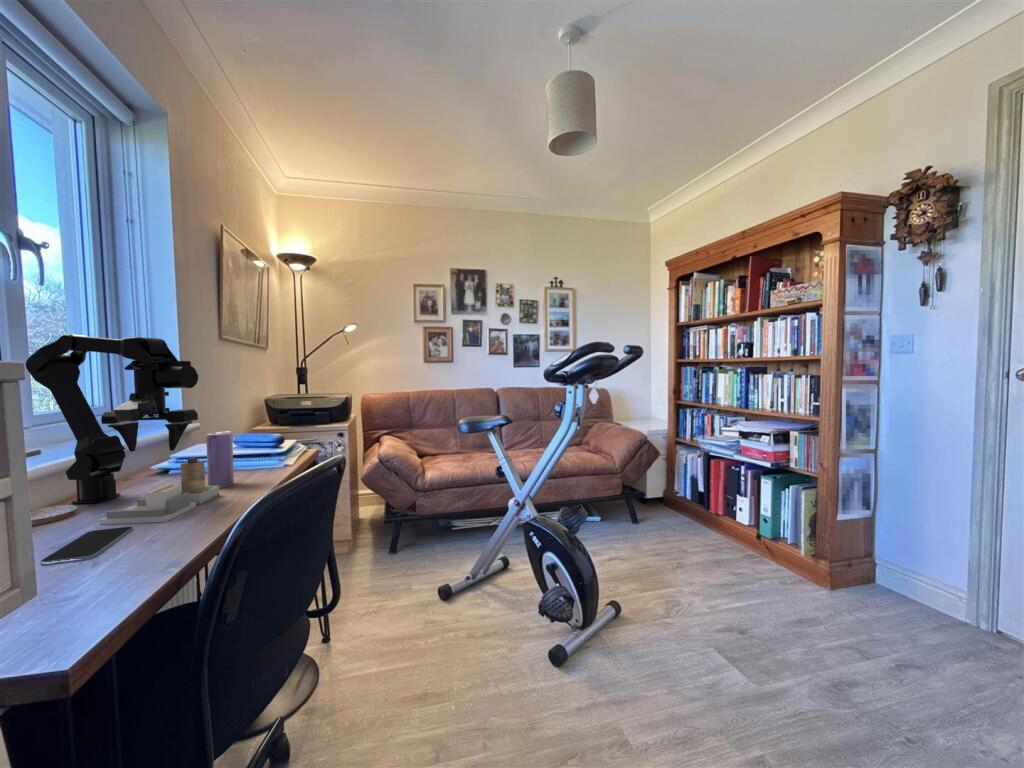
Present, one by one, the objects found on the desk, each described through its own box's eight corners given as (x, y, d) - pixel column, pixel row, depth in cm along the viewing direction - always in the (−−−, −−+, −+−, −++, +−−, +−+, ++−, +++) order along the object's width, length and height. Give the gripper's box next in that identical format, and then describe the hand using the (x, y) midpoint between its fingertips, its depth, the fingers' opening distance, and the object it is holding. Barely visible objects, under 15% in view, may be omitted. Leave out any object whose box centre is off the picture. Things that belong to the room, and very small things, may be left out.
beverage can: (224, 488, 114) (222, 434, 114) (202, 488, 115) (200, 434, 114) (238, 482, 120) (237, 431, 120) (218, 482, 120) (216, 431, 120)
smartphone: (135, 525, 87) (93, 555, 73) (135, 530, 87) (93, 560, 73) (89, 530, 84) (36, 562, 70) (89, 535, 84) (36, 568, 70)
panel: (99, 524, 89) (99, 505, 89) (137, 508, 99) (136, 491, 99) (165, 521, 90) (164, 503, 90) (196, 506, 100) (195, 489, 100)
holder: (167, 505, 100) (166, 495, 100) (188, 496, 108) (188, 486, 108) (200, 504, 101) (200, 494, 101) (219, 495, 109) (219, 485, 109)
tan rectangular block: (182, 500, 103) (180, 460, 102) (191, 496, 106) (189, 457, 106) (196, 499, 103) (195, 459, 103) (205, 495, 106) (204, 456, 106)
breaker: (146, 512, 92) (145, 491, 92) (163, 504, 97) (162, 485, 97) (165, 511, 92) (165, 491, 92) (181, 504, 97) (180, 484, 97)
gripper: (78, 390, 95) (81, 459, 95) (166, 389, 96) (169, 457, 97) (119, 388, 106) (122, 449, 106) (198, 387, 107) (200, 447, 108)
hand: (152, 450), depth 104 cm, fingers open, 9 cm apart
